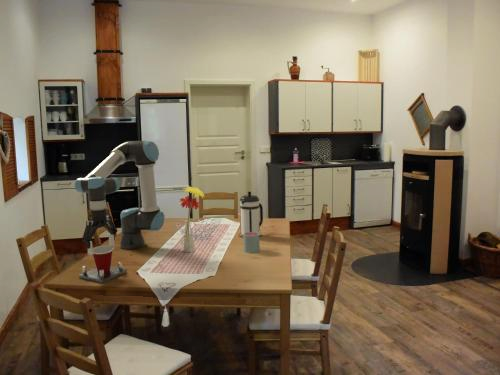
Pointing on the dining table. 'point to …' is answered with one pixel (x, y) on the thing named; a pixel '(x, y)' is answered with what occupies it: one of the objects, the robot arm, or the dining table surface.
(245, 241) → the mug
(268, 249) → the dining table surface
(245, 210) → the coffee press
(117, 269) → the chassis
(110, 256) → the plastic cup
